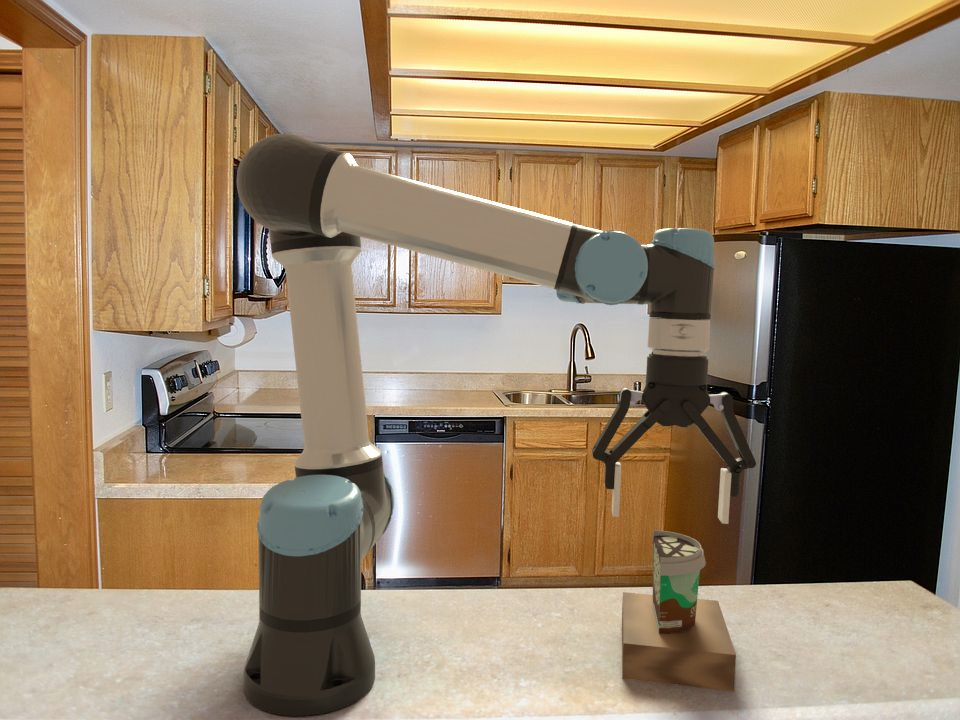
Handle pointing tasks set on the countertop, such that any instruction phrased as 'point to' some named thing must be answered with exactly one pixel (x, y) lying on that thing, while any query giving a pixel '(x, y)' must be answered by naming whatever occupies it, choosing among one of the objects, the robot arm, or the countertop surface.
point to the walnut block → (677, 647)
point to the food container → (675, 580)
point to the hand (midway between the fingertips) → (668, 517)
